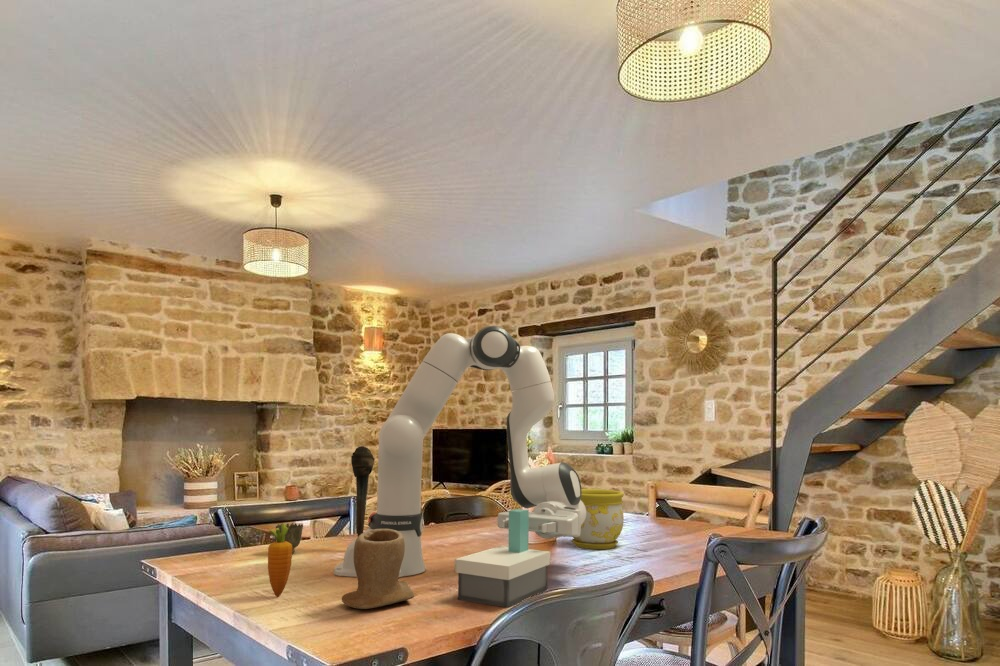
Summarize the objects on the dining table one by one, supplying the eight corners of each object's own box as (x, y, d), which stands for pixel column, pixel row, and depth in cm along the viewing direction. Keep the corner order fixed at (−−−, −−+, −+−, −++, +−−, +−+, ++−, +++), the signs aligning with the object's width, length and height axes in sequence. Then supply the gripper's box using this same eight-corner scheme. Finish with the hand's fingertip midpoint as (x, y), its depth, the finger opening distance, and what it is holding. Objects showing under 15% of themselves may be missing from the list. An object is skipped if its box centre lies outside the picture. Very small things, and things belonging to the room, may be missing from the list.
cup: (296, 556, 186) (298, 526, 187) (270, 556, 186) (272, 526, 187) (304, 551, 193) (306, 523, 194) (279, 551, 193) (280, 522, 194)
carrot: (276, 601, 139) (280, 526, 141) (260, 597, 142) (264, 524, 144) (295, 596, 144) (298, 523, 146) (279, 592, 146) (283, 522, 148)
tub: (507, 607, 137) (507, 572, 137) (458, 599, 143) (458, 565, 144) (546, 589, 152) (546, 557, 153) (501, 582, 158) (501, 552, 159)
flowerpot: (554, 546, 206) (555, 491, 208) (582, 538, 221) (582, 487, 223) (608, 553, 196) (607, 496, 198) (633, 545, 211) (633, 491, 213)
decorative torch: (374, 552, 193) (378, 446, 197) (351, 554, 190) (356, 446, 194) (366, 548, 199) (369, 445, 203) (343, 550, 195) (348, 446, 199)
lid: (508, 580, 136) (509, 520, 138) (454, 572, 143) (455, 515, 145) (550, 563, 153) (550, 511, 154) (500, 557, 159) (501, 506, 161)
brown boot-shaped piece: (363, 618, 128) (366, 537, 130) (334, 605, 137) (337, 529, 139) (428, 605, 138) (430, 530, 140) (397, 593, 147) (399, 523, 149)
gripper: (512, 503, 174) (484, 509, 162) (586, 510, 164) (562, 516, 152) (512, 528, 173) (484, 536, 161) (586, 536, 163) (561, 545, 151)
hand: (522, 526), depth 156 cm, fingers open, 8 cm apart
